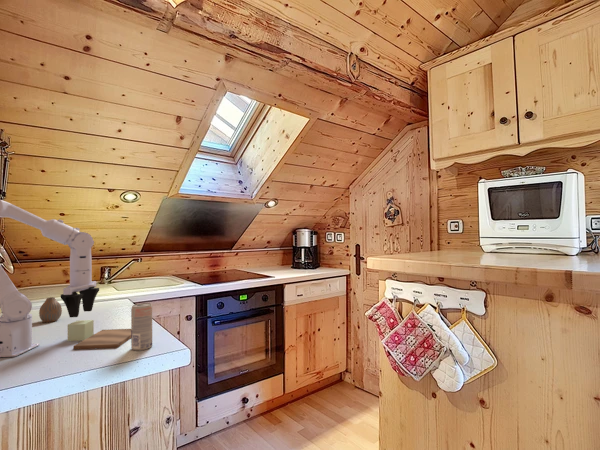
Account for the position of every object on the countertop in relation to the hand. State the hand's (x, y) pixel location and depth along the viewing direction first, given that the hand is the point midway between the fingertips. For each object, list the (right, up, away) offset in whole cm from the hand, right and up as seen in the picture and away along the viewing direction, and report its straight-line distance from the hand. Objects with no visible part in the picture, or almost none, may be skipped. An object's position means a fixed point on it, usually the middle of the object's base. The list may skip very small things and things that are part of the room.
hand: (81, 314), depth 105 cm
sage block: (0, -8, 0) cm, 8 cm away
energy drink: (+24, -7, -10) cm, 27 cm away
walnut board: (+10, -7, -2) cm, 13 cm away
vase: (-26, -9, +22) cm, 35 cm away
